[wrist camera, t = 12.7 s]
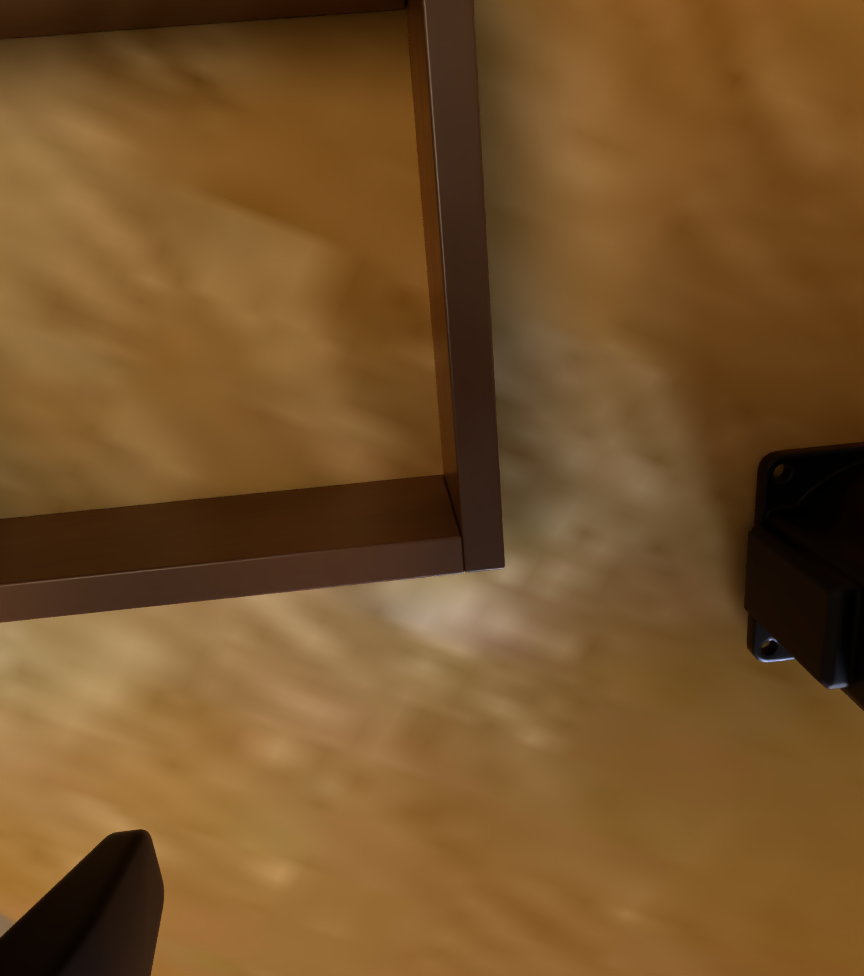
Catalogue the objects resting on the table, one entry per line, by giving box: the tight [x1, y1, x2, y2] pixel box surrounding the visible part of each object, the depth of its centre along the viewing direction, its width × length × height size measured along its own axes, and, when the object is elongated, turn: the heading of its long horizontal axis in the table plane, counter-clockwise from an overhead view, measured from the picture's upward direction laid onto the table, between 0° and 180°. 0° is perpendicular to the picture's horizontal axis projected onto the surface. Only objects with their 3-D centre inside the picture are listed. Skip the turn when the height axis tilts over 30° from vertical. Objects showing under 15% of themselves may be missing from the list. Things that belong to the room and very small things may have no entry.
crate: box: [0, 0, 505, 623], centre depth 16 cm, size 16×13×4 cm
